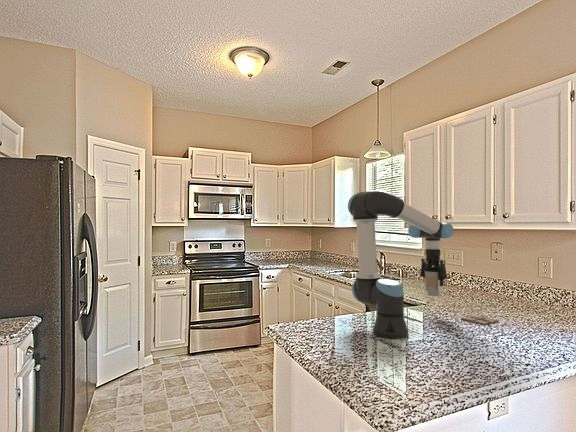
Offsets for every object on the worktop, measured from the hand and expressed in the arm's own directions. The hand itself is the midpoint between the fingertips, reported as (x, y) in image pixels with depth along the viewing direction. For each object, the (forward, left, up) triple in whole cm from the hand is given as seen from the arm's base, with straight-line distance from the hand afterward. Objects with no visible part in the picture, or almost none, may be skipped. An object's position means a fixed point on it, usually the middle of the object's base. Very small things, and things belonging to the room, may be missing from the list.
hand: (433, 290), depth 190 cm
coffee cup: (0, 0, -3) cm, 3 cm away
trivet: (+10, -19, -13) cm, 25 cm away
